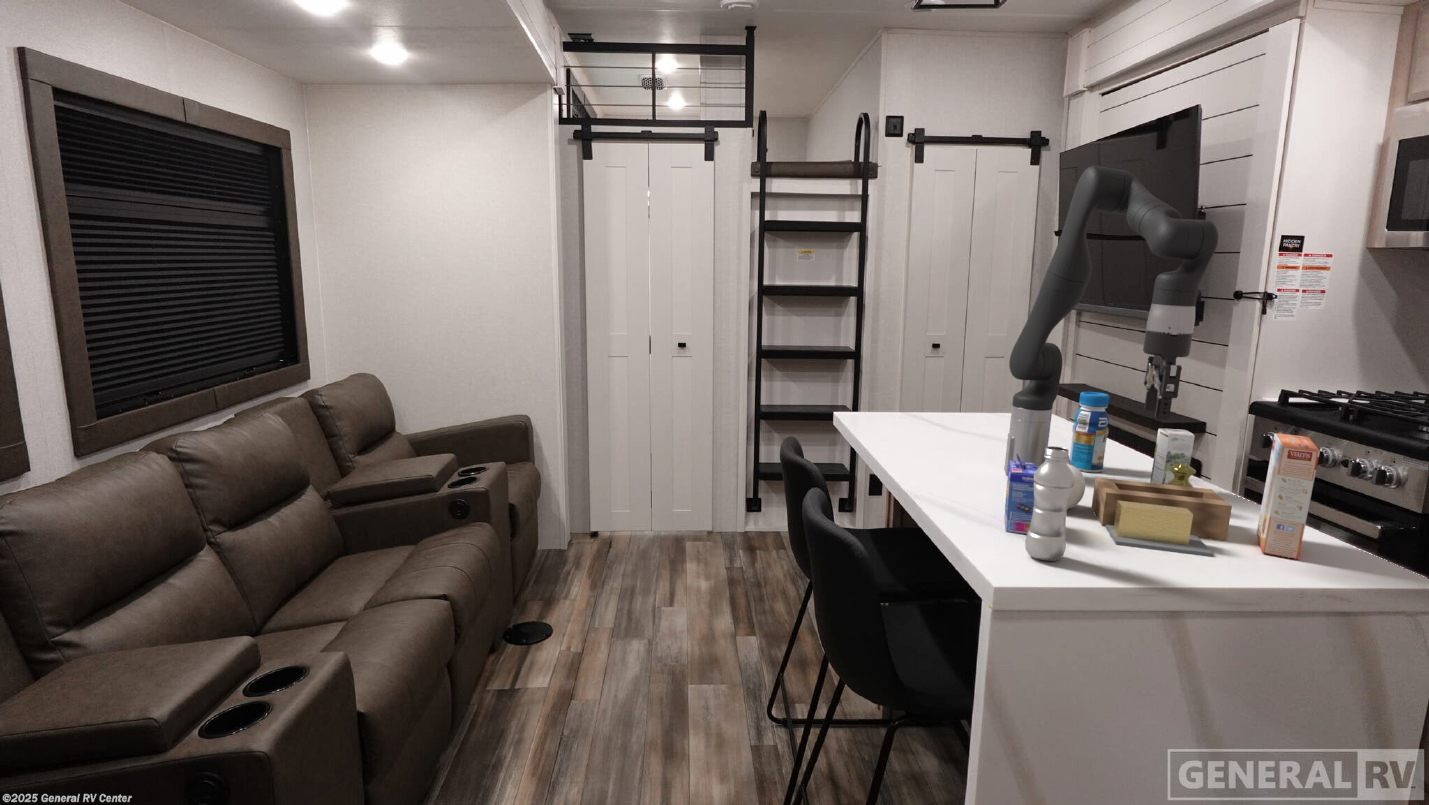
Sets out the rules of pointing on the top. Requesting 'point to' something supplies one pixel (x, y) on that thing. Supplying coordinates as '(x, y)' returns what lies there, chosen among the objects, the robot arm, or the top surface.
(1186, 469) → the gold spiky piece
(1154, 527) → the pale yellow rectangular block
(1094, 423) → the beverage bottle
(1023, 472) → the ink cartridge box
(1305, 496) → the cracker box
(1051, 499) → the plastic bottle
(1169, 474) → the syrup box
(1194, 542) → the slate mat
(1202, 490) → the pocket board
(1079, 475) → the ornament
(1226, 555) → the top surface
